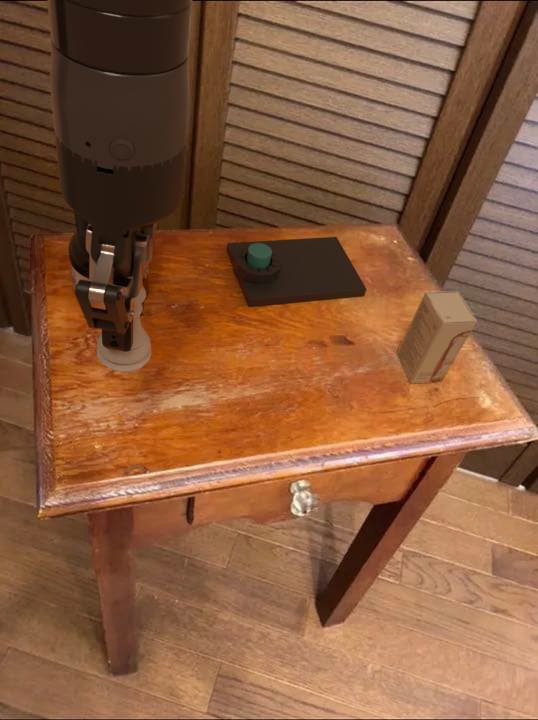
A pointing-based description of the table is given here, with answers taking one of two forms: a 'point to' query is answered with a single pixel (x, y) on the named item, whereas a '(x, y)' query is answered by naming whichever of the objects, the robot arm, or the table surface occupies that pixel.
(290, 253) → the black kitchen scale
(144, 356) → the rook chess piece
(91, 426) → the table surface
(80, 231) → the ink bottle
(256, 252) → the button
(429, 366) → the beige upright block
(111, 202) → the robot arm
